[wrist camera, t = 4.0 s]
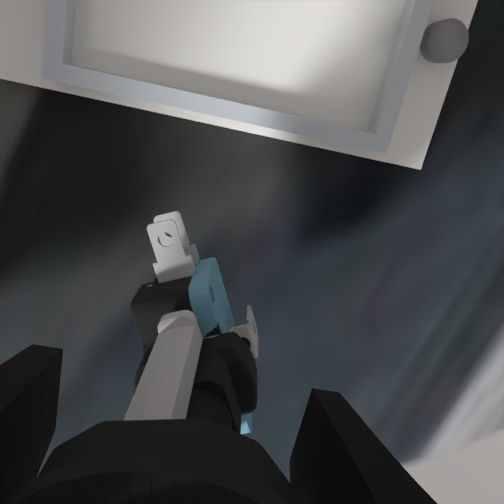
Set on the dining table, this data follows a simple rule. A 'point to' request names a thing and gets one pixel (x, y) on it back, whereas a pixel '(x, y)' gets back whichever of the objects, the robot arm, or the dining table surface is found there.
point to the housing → (253, 64)
